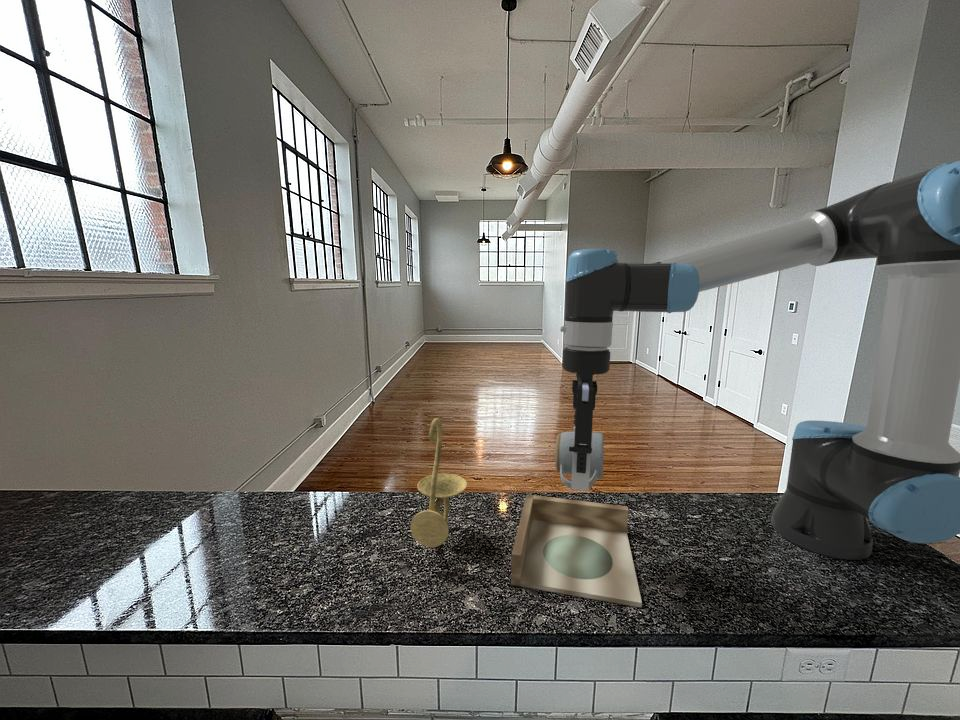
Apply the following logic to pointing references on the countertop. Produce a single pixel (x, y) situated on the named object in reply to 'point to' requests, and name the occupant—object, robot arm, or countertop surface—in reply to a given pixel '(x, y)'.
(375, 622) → the countertop surface
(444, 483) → the wall sconce
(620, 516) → the tray
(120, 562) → the countertop surface
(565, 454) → the ceramic mug
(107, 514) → the countertop surface
